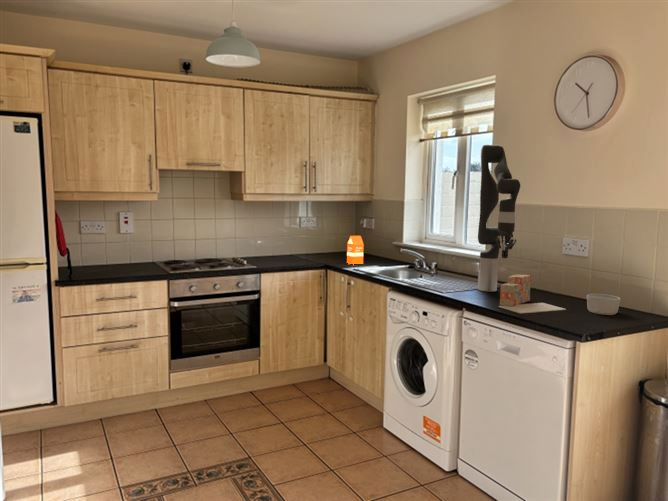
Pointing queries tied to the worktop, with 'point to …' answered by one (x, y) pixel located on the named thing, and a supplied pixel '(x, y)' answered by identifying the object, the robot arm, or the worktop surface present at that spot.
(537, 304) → the mat
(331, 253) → the worktop surface
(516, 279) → the stack of blocks
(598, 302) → the ramekin
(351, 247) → the orange juice
